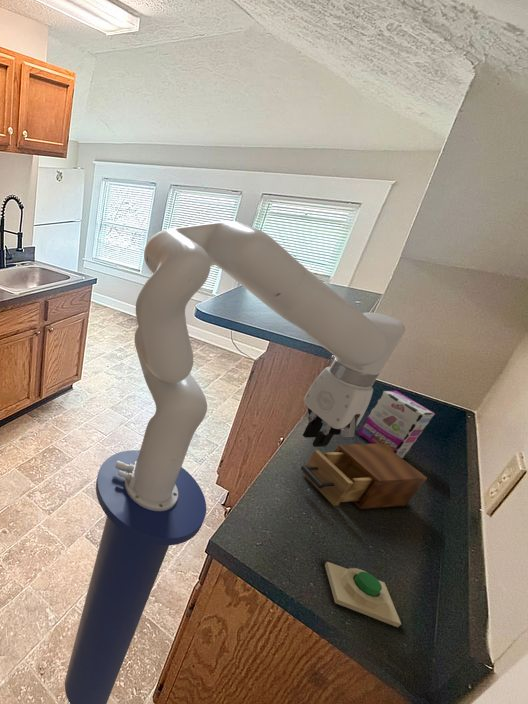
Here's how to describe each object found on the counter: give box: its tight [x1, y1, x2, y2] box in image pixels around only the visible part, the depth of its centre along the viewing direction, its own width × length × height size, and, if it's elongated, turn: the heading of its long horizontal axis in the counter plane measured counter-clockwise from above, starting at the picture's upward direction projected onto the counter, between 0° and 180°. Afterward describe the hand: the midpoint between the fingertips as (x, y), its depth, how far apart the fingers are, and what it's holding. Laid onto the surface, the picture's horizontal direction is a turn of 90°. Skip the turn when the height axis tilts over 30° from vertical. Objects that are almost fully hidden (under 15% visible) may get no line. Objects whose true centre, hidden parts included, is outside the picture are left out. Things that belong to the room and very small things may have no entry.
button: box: [354, 571, 382, 596], centre depth 71 cm, size 4×4×2 cm
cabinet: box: [334, 443, 428, 510], centre depth 95 cm, size 14×12×10 cm
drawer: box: [300, 449, 375, 507], centre depth 94 cm, size 17×10×8 cm, turn 99°
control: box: [324, 561, 402, 628], centre depth 72 cm, size 10×8×3 cm
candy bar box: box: [357, 390, 436, 459], centre depth 110 cm, size 11×5×16 cm, turn 12°
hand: (314, 440), depth 85 cm, fingers closed
